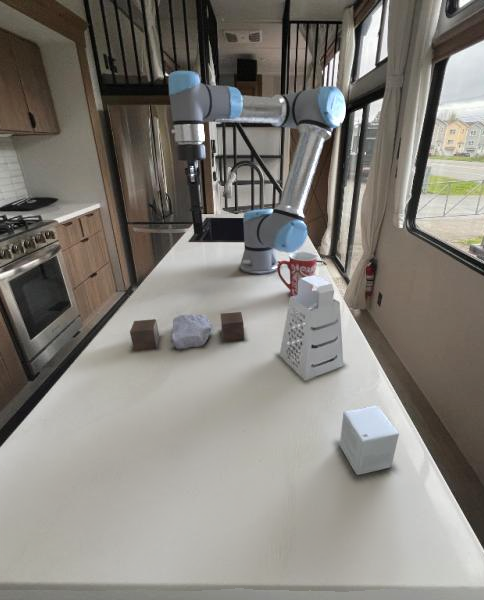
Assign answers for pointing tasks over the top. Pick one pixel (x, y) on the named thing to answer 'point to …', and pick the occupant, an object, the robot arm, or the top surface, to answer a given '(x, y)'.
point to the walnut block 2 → (232, 326)
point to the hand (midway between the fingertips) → (198, 233)
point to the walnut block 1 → (144, 334)
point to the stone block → (190, 331)
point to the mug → (298, 269)
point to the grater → (313, 328)
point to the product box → (368, 439)
